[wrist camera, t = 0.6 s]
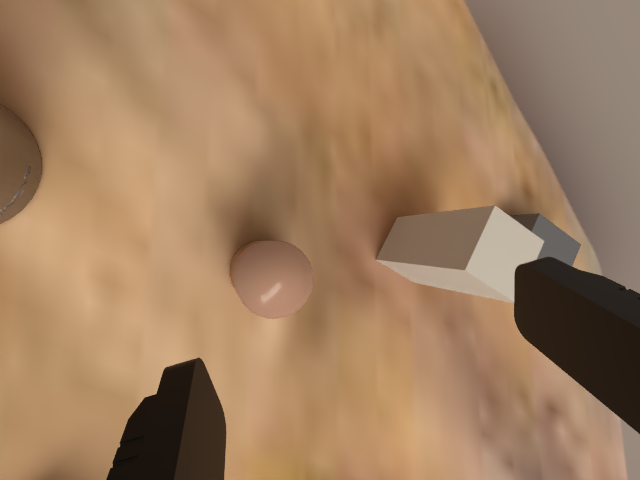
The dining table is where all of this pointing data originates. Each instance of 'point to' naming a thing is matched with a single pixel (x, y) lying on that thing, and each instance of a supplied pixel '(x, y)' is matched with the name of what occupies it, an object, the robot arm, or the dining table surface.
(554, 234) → the grey squat block
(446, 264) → the tall cream block
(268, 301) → the pink rounded pebble
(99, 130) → the dining table surface
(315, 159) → the dining table surface
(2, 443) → the dining table surface
